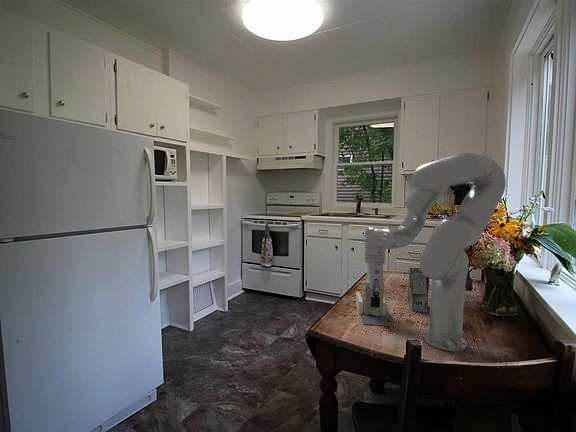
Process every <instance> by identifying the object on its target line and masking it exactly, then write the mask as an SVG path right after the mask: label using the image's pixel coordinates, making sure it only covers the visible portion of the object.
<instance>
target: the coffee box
mask: <svg viewBox="0 0 576 432" xmlns="http://www.w3.org/2000/svg"><path fill="white" fill-rule="evenodd" d="M407 286H408V287H407V288H408V289H407V305H408V307H409V309H410V310H411V312H412V311H413V312H421V313H428V309H429V308H428V305H429V304H428V303H429V289H430V288H429V287H430V279H429V278H428V277H426V276H425V275H424V274H423V272H422V270H421V268H420V267H408V284H407Z"/></svg>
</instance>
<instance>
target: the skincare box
mask: <svg viewBox="0 0 576 432" xmlns="http://www.w3.org/2000/svg"><path fill="white" fill-rule="evenodd" d="M373 289H375V287H373ZM379 291H380V307H379V308H376V307H371V296H372V290H371V289H370V287H369V282H368V280H366V281H365V284H364V297H363V298H364V304H363V313H364V314H370V315H375V316H379V315H382V311H383V298H384V292H385V283H384V282H383V290H381V289H380V287H379ZM373 292H375V291H373Z"/></svg>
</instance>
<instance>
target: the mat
mask: <svg viewBox="0 0 576 432" xmlns="http://www.w3.org/2000/svg"><path fill="white" fill-rule="evenodd" d="M360 316H361V320H362V323H363V325H364V326H376V327H377V326H378V327H390V324H389V322H388V320H387V318H386V316H385V315H382V314H381V315H379V316H375V315H372V314H369V313H363V314H360Z"/></svg>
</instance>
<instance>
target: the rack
mask: <svg viewBox="0 0 576 432" xmlns="http://www.w3.org/2000/svg"><path fill="white" fill-rule="evenodd" d="M387 304H388V303H387V302H386V300H385V297H383V311H382V314H381V315H385V317H386V316H387ZM355 305H356V309H357V313H358V315H361V314H364V297H362V295H361V292H360V291H355Z"/></svg>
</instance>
